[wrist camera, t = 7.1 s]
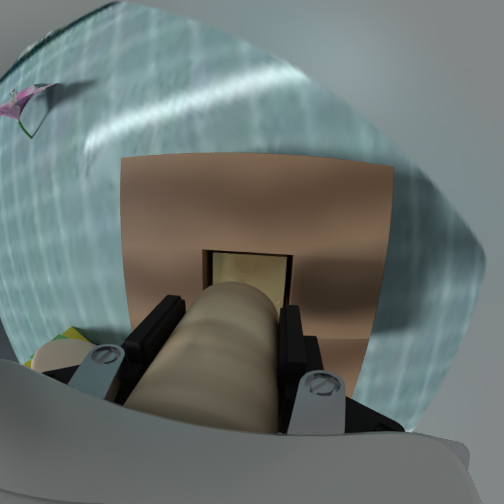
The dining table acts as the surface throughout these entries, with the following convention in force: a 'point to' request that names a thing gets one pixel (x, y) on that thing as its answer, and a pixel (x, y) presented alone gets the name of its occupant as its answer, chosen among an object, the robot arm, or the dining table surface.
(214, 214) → the socket block
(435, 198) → the dining table surface
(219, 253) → the tan square tile
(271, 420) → the maple peg
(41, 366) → the hamburger
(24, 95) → the lily
